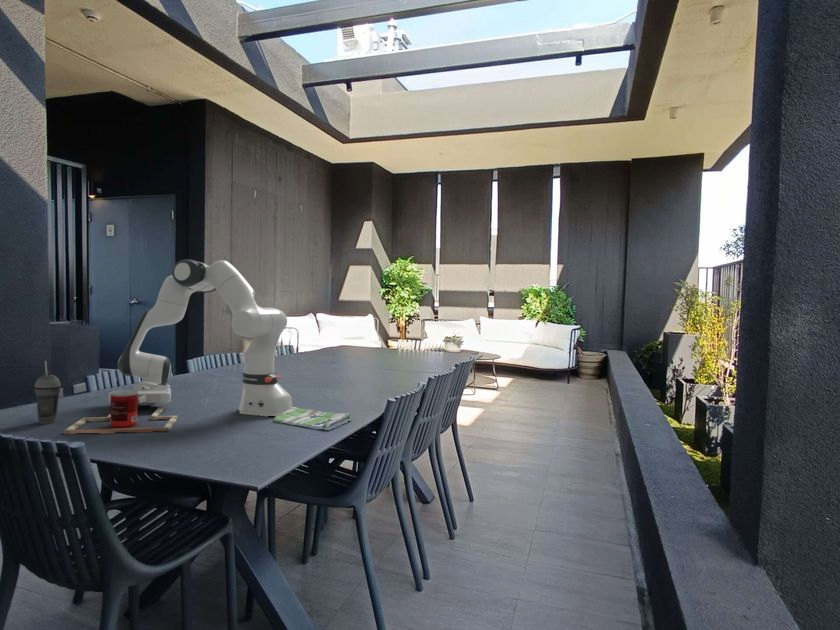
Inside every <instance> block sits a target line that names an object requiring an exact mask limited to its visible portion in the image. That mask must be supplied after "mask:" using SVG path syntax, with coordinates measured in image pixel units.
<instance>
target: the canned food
mask: <svg viewBox="0 0 840 630" xmlns="http://www.w3.org/2000/svg"><path fill="white" fill-rule="evenodd" d="M118 390H119V391H116V390H113V391H114V392H113V391H111V392H112V393H111V392H110V393H111V403H110V414H111V419H110V421H109V423H110V426H111V428H113V427H114V428H113V429H120V428H126V427H129V428H133V427H135V426H137V424H138V406H139V405H138V392H137V391H135V390H132V389H118ZM132 426H133V427H132Z"/></svg>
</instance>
